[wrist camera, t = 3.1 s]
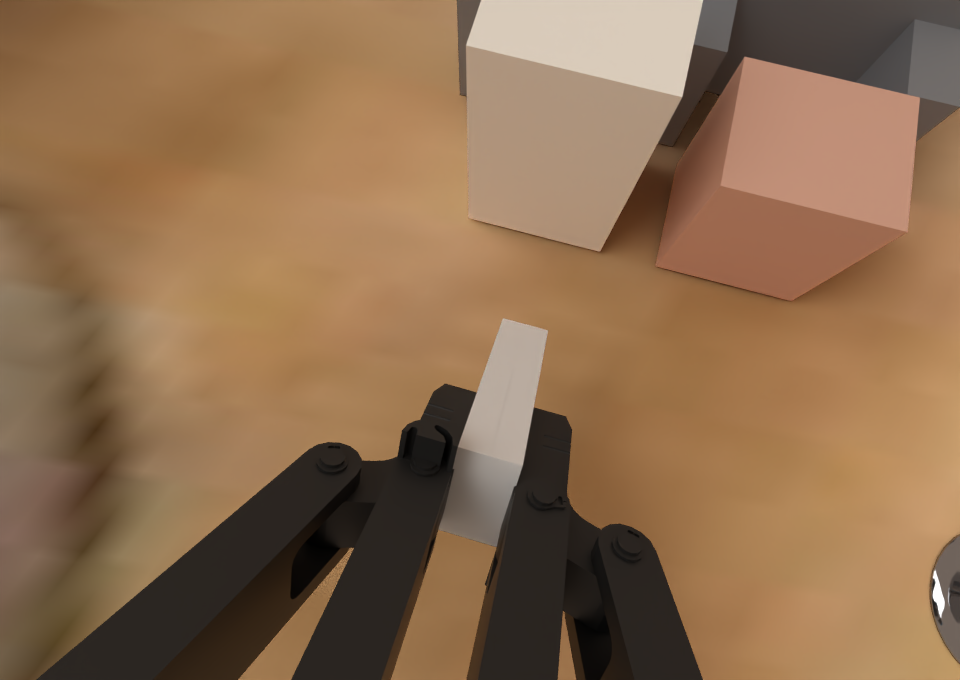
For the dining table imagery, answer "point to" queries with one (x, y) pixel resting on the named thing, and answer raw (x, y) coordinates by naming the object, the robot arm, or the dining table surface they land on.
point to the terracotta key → (790, 181)
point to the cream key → (569, 108)
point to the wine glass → (947, 596)
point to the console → (815, 48)
